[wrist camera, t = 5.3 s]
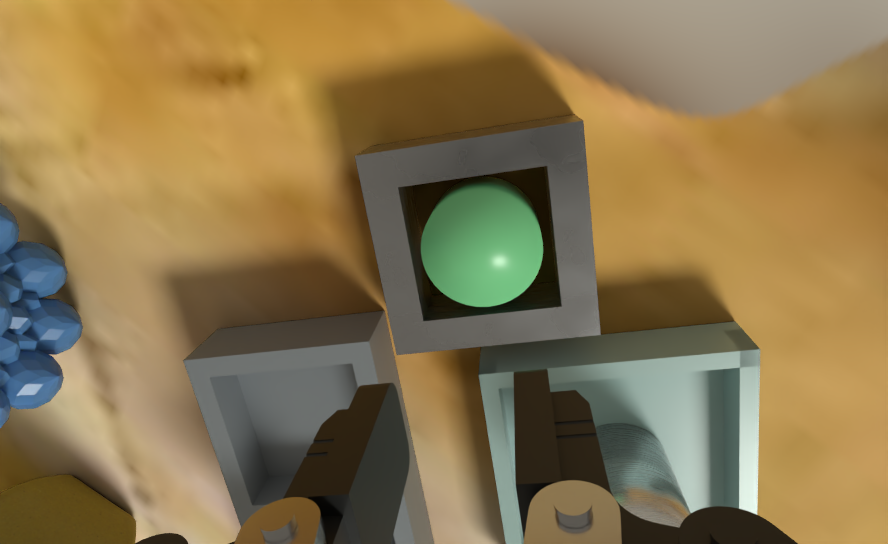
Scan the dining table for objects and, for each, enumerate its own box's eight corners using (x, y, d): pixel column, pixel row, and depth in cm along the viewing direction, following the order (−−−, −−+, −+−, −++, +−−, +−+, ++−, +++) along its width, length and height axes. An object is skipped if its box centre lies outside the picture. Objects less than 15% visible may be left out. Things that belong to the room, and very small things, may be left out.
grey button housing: (574, 114, 24) (583, 120, 22) (591, 307, 27) (600, 334, 24) (371, 146, 26) (354, 155, 23) (407, 326, 29) (396, 355, 26)
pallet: (217, 328, 30) (183, 360, 27) (384, 310, 28) (368, 341, 25) (305, 601, 36) (285, 653, 33) (445, 597, 34) (439, 651, 31)
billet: (665, 418, 28) (726, 554, 20) (668, 501, 30) (726, 656, 22) (562, 426, 29) (582, 560, 21) (570, 506, 30) (592, 658, 23)
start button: (532, 168, 25) (536, 182, 22) (544, 275, 27) (549, 300, 24) (421, 185, 26) (410, 199, 23) (439, 287, 27) (431, 312, 24)
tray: (735, 321, 27) (759, 349, 24) (734, 553, 31) (755, 598, 29) (481, 346, 29) (478, 374, 26) (515, 562, 33) (515, 605, 30)
